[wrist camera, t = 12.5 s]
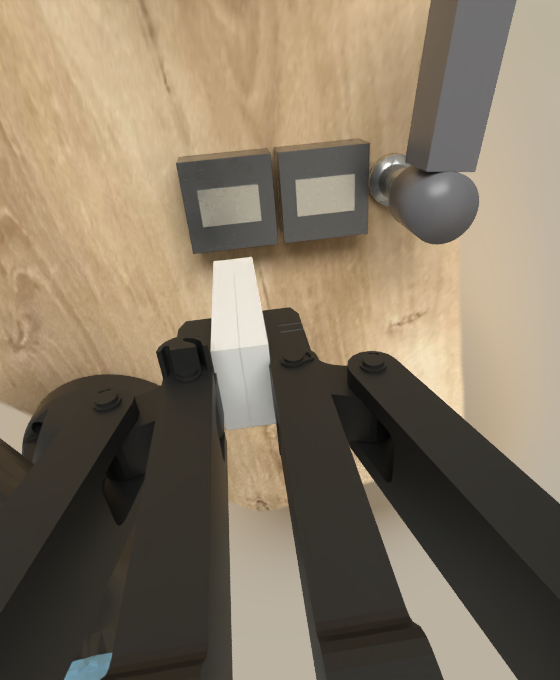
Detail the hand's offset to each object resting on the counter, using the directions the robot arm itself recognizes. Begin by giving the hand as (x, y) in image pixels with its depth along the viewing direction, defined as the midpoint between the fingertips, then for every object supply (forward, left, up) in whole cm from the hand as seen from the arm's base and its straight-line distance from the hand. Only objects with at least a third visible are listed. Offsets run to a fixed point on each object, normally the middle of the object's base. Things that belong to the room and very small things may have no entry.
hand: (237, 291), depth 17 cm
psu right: (+7, 0, -16) cm, 18 cm away
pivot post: (+12, 0, -16) cm, 20 cm away
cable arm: (+13, +6, -11) cm, 18 cm away
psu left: (0, 0, -16) cm, 16 cm away
